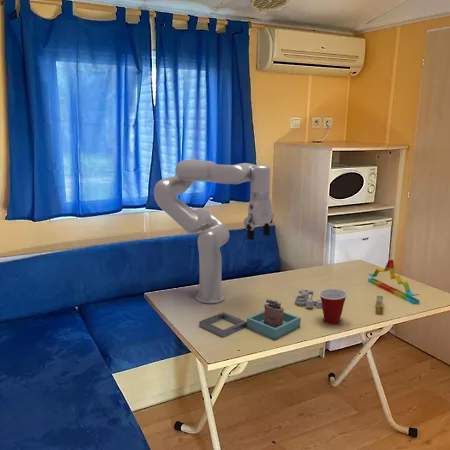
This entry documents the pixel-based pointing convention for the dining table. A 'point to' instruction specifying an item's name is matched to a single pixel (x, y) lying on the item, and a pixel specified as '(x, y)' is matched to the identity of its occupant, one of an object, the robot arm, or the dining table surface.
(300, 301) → the pulley system
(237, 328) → the gray square frame
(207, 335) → the dining table surface
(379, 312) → the medication box
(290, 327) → the tray
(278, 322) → the lighter
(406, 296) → the rainbow zigzag toy
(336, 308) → the plastic cup
